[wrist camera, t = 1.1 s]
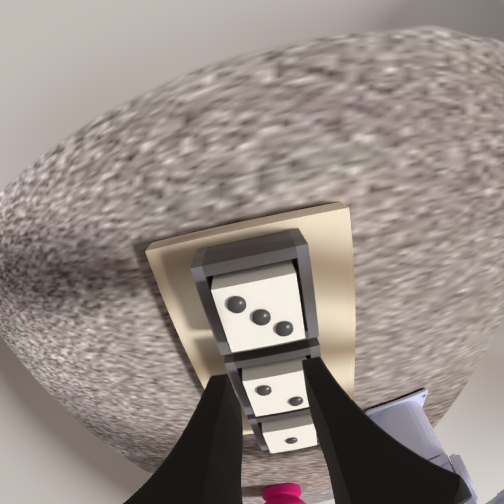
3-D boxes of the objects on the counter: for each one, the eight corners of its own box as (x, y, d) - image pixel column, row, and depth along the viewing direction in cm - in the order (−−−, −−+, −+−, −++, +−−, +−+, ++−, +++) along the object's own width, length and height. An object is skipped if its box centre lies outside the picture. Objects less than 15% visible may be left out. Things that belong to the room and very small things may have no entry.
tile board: (347, 402, 24) (358, 432, 21) (230, 424, 25) (230, 456, 21) (340, 201, 17) (366, 219, 13) (152, 242, 17) (130, 269, 14)
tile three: (298, 317, 16) (306, 340, 14) (232, 330, 16) (231, 354, 14) (289, 255, 15) (296, 274, 13) (214, 271, 15) (210, 291, 13)
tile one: (313, 427, 21) (317, 446, 19) (269, 435, 21) (271, 454, 19) (310, 403, 20) (315, 424, 18) (260, 413, 20) (262, 434, 18)
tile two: (308, 385, 19) (313, 407, 17) (254, 395, 19) (255, 418, 17) (303, 347, 17) (309, 370, 15) (242, 359, 17) (242, 383, 15)
